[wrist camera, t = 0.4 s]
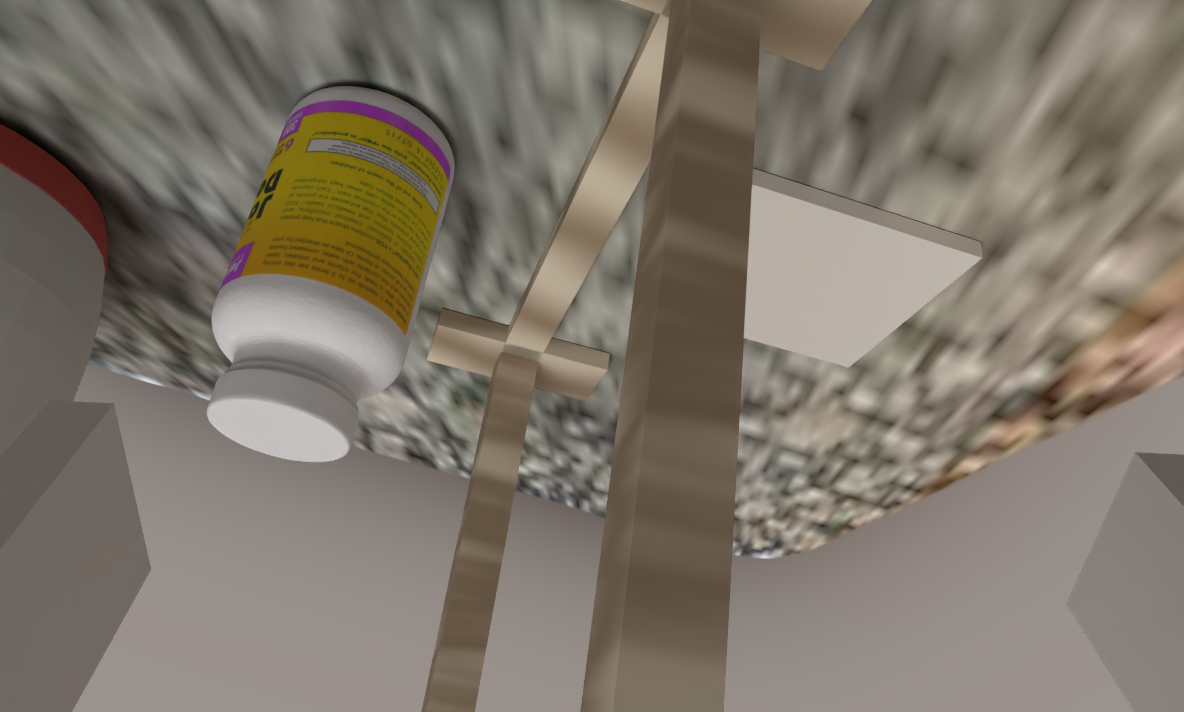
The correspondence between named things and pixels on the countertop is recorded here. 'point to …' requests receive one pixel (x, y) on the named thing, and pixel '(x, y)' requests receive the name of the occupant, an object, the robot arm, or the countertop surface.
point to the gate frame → (640, 362)
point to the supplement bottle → (329, 272)
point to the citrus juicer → (45, 281)
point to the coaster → (839, 270)
